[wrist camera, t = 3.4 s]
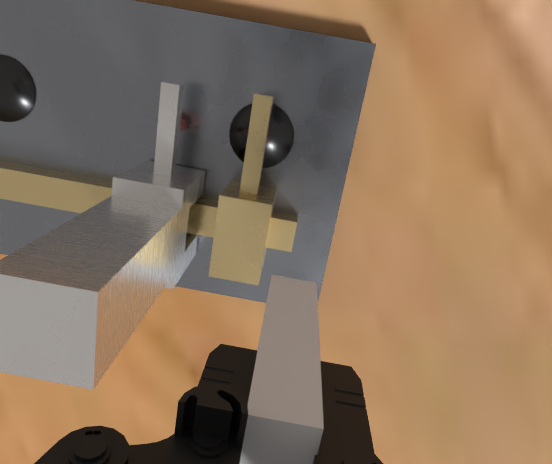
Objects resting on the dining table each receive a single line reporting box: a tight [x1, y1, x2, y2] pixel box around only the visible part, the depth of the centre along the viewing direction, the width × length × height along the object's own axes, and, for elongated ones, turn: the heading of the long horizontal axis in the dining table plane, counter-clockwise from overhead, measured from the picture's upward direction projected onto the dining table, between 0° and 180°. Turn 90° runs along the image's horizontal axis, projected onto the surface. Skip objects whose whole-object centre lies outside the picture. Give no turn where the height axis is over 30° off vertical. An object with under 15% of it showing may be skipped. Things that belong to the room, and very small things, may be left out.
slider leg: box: [0, 82, 206, 390], centre depth 17 cm, size 9×3×12 cm, turn 170°
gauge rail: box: [0, 93, 298, 285], centre depth 22 cm, size 8×18×3 cm, turn 80°
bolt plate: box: [0, 0, 376, 303], centre depth 23 cm, size 14×22×1 cm, turn 80°
